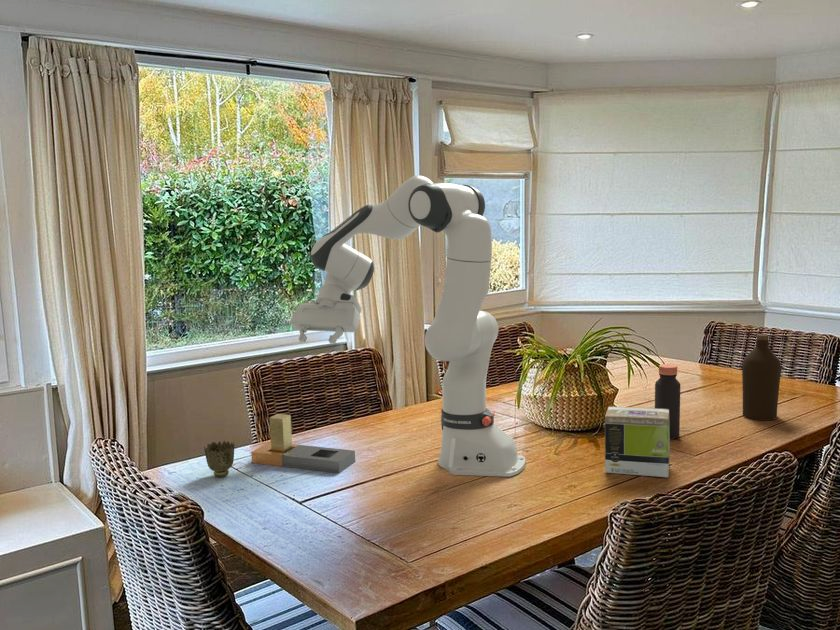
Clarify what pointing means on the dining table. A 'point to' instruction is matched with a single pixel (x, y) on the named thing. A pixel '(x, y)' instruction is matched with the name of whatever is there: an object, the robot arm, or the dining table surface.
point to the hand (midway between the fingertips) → (316, 341)
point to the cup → (220, 457)
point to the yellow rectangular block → (280, 433)
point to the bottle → (669, 396)
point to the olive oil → (761, 381)
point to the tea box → (637, 441)
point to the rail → (306, 458)
